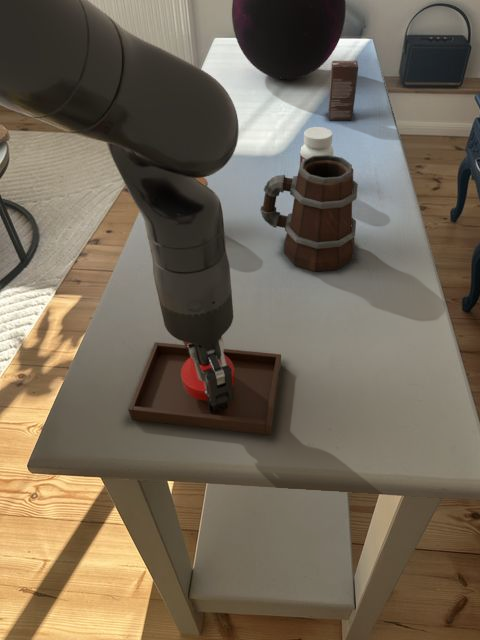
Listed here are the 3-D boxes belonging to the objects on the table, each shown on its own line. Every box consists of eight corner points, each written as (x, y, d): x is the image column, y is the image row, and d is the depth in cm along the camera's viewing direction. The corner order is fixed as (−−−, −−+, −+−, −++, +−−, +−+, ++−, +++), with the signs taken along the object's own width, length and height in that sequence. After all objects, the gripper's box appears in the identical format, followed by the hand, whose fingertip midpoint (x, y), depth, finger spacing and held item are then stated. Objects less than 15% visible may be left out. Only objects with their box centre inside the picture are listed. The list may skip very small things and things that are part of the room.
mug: (354, 233, 85) (366, 150, 74) (350, 276, 77) (364, 190, 66) (266, 225, 87) (266, 143, 76) (254, 266, 79) (252, 181, 68)
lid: (239, 363, 62) (238, 353, 61) (230, 403, 58) (229, 393, 56) (190, 358, 63) (188, 348, 61) (177, 397, 58) (175, 388, 57)
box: (351, 113, 121) (357, 59, 112) (352, 121, 118) (359, 66, 109) (327, 113, 121) (331, 59, 112) (327, 120, 118) (332, 66, 109)
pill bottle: (306, 179, 99) (309, 123, 90) (334, 186, 97) (340, 129, 88) (293, 193, 95) (295, 135, 87) (322, 200, 93) (327, 142, 85)
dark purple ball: (335, 59, 149) (347, -69, 126) (342, 96, 128) (358, -48, 106) (238, 58, 150) (233, -68, 127) (230, 95, 129) (222, -48, 107)
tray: (131, 419, 59) (127, 409, 58) (157, 352, 67) (154, 341, 65) (270, 435, 57) (270, 425, 56) (280, 364, 65) (281, 354, 63)
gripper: (254, 322, 46) (257, 422, 58) (208, 240, 55) (219, 342, 67) (177, 344, 44) (197, 443, 56) (142, 256, 53) (166, 357, 65)
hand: (209, 388), depth 61 cm, fingers closed on lid, 6 cm apart
